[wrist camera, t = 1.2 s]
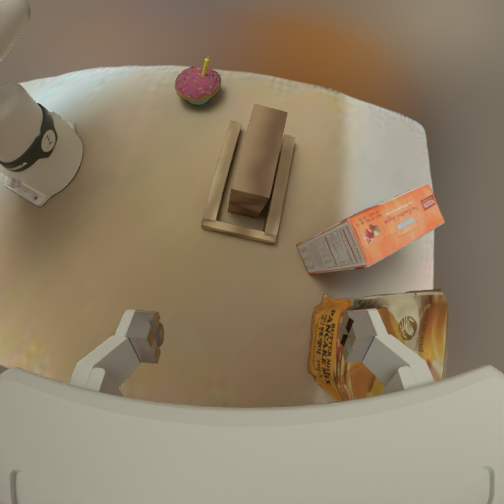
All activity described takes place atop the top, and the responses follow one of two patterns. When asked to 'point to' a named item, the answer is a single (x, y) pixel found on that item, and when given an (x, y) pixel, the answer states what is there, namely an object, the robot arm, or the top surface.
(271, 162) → the block
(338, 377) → the pancake mix bag
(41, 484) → the robot arm
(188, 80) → the cupcake
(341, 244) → the cracker box
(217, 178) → the chute
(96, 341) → the top surface
